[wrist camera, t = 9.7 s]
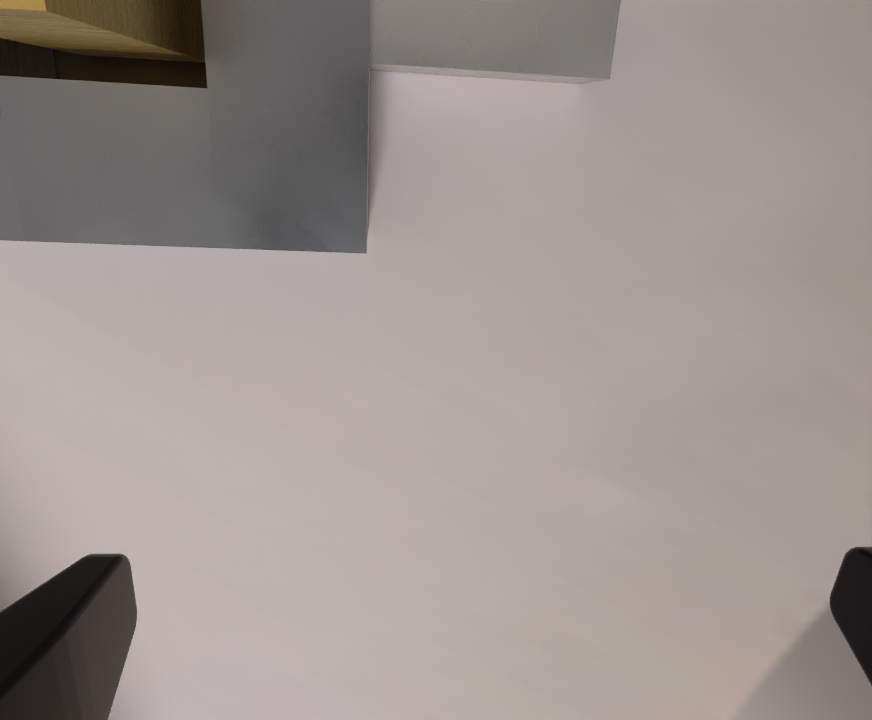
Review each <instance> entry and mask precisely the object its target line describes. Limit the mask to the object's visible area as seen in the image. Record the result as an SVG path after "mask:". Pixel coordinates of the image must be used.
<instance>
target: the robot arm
mask: <svg viewBox="0 0 872 720" xmlns="http://www.w3.org/2000/svg"><path fill="white" fill-rule="evenodd" d="M830 609H831V612H832V615H833V617H834V619H835V621H836V623H837V624H838V626H839V628H840V630H841V632H842V633H843V635H844V637H845V639H846V641H847V642H848V644H849V646H850V648H851V650H852V651H853V653H854V655H855V657H856V658H857V660H858V662H859V664H860V666H861V667H862V669H863V671H864V673H865V674H866V676H867V678H868V680H869V682H870V684H871V685H872V547H855V548H852V549H850V550H849V551H848V552H847V553H846V554H845V556H844V559H843V561H842V564H841V567H840V570H839V572H838V575H837V578H836V581H835V583H834V586H833V589H832V592H831V595H830ZM136 620H137V607H136V600H135V593H134V586H133V579H132V572H131V566H130V562H129V560H128V558H127V557H126V556H125V555H123V554H90V555H87V556H85V557H83V558H81V559H80V560H78V561H77V562H75V563H74V564H72V565H71V566H69V567H68V568H66V569H65V570H63V571H62V572H60V573H59V574H57V575H56V576H54V577H52V578H51V579H49V580H48V581H46V582H45V583H43V584H42V585H40V586H39V587H37V588H36V589H34V590H33V591H31V592H30V593H28V594H27V595H25V596H24V597H22V598H21V599H19V600H18V601H16V602H15V603H13V604H11V605H10V606H8V607H7V608H5V609H4V610H2V611H1V612H0V720H108V717H109V714H110V710H111V707H112V704H113V700H114V697H115V694H116V691H117V687H118V684H119V681H120V677H121V674H122V671H123V668H124V664H125V661H126V658H127V654H128V651H129V648H130V645H131V641H132V638H133V635H134V631H135V627H136Z"/></svg>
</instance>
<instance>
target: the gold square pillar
mask: <svg viewBox="0 0 872 720" xmlns="http://www.w3.org/2000/svg"><path fill="white" fill-rule="evenodd" d="M0 38H3V39H8V40H12V41H17V42H22V43H27V44H32V45H36V46H41V47H46V48H51V49H56V50H61V51H65V52H70V53H75V54H80V55H85V56H101V57H118V58H135V59H152V60H169V61H186V62H203V63H205V49H204V35H203V21H202V7H201V0H0Z"/></svg>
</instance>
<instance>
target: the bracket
mask: <svg viewBox="0 0 872 720" xmlns="http://www.w3.org/2000/svg"><path fill="white" fill-rule="evenodd" d="M620 2H621V0H201V7H202V21H203V35H204V49H205V63H206V77H207V88H193V87H177V86H161V85H145V84H128V83H112V82H96V81H80V80H63V79H58V77H57V71H56V64H55V57H54V51H53V49H51V48H46V47H41V46H36V45H32V44H27V43H22V42H17V41H12V40H8V39H3V38H0V240H10V241H38V242H66V243H94V244H122V245H149V246H177V247H205V248H233V249H261V250H288V251H316V252H344V253H366V250H367V236H368V181H369V115H370V70H382V71H397V72H412V73H427V74H442V75H457V76H472V77H487V78H502V79H517V80H533V81H548V82H563V83H578V84H581V83H588V82H595V81H601V80H608V79H610V72H611V65H612V58H613V51H614V44H615V37H616V30H617V23H618V16H619V9H620Z"/></svg>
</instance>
